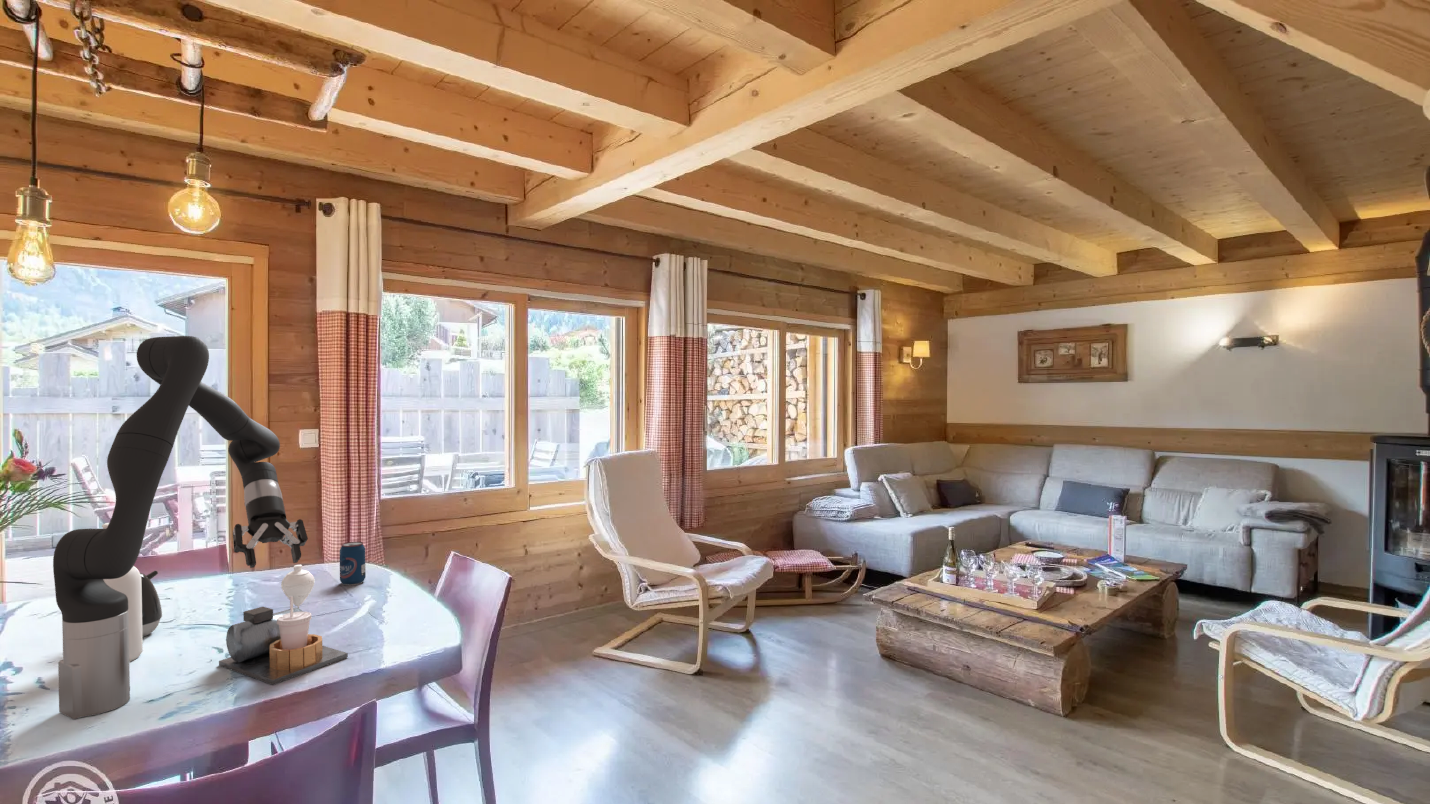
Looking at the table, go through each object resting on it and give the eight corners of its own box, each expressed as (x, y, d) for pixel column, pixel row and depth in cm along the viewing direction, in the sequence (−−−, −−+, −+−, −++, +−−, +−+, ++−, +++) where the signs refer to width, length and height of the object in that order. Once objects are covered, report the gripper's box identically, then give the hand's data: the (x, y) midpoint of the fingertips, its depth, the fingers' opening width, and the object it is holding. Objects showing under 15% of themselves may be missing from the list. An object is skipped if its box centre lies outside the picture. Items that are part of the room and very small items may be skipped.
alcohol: (100, 670, 146) (97, 528, 145) (82, 662, 150) (79, 524, 150) (150, 656, 154) (148, 521, 153) (131, 649, 158) (129, 517, 157)
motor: (272, 684, 139) (272, 631, 139) (218, 665, 149) (218, 615, 149) (349, 656, 154) (349, 608, 154) (296, 640, 163) (295, 595, 163)
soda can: (335, 585, 208) (334, 546, 208) (348, 579, 215) (347, 540, 215) (357, 586, 208) (357, 546, 207) (370, 579, 215) (369, 541, 214)
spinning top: (274, 613, 183) (273, 567, 183) (298, 604, 190) (297, 560, 190) (298, 615, 181) (298, 569, 181) (321, 606, 189) (321, 562, 188)
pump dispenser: (173, 630, 170) (172, 568, 170) (127, 645, 160) (126, 580, 160) (142, 626, 173) (141, 565, 173) (95, 641, 163) (94, 576, 163)
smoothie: (270, 663, 148) (269, 597, 147) (300, 653, 153) (299, 589, 153) (288, 669, 145) (288, 602, 144) (318, 658, 150) (318, 594, 150)
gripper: (232, 496, 157) (242, 559, 150) (302, 492, 168) (314, 551, 161) (224, 514, 161) (234, 576, 154) (293, 509, 172) (305, 567, 164)
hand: (275, 563), depth 157 cm, fingers open, 8 cm apart
